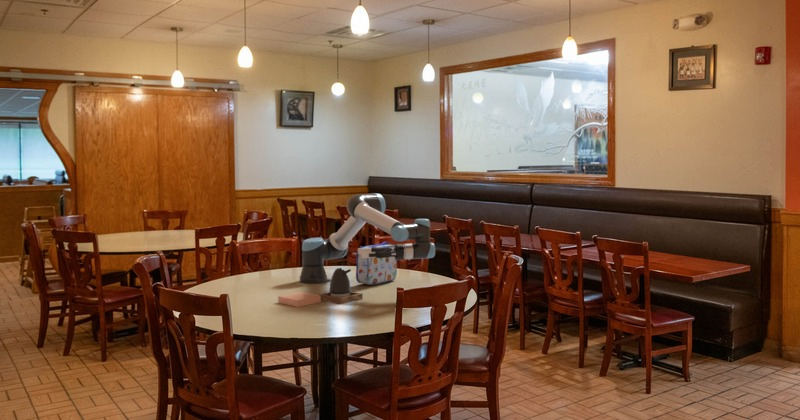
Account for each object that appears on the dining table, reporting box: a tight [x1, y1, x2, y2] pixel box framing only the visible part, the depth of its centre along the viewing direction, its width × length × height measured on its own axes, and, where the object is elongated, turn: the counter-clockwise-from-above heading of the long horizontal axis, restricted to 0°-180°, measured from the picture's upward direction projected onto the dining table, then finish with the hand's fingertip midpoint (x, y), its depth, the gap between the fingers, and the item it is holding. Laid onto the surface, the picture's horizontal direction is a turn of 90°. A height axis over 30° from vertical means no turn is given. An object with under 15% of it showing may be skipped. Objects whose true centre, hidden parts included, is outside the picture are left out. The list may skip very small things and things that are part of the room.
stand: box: [277, 291, 322, 308], centre depth 319 cm, size 14×14×3 cm
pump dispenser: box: [328, 267, 352, 298], centre depth 324 cm, size 10×10×15 cm
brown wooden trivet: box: [317, 291, 364, 305], centre depth 325 cm, size 15×15×2 cm
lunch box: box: [355, 241, 398, 286], centre depth 366 cm, size 28×10×22 cm, turn 143°
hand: (359, 253), depth 325 cm, fingers open, 13 cm apart
